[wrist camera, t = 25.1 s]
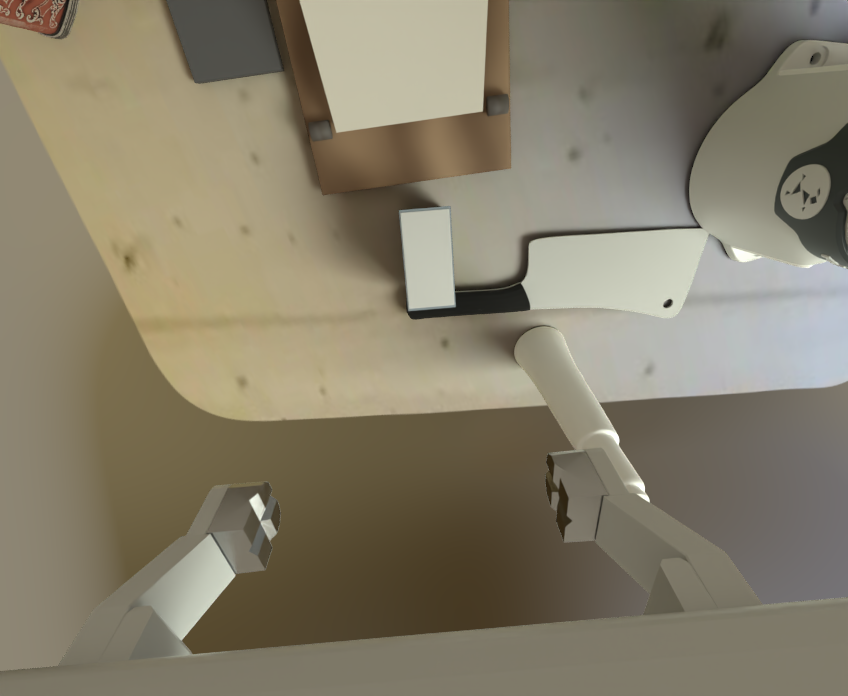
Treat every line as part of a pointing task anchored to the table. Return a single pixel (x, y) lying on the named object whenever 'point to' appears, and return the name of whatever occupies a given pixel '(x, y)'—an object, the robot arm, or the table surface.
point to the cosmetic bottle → (572, 399)
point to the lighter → (40, 16)
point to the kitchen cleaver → (595, 275)
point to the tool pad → (226, 38)
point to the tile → (398, 58)
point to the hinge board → (406, 142)
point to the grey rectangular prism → (428, 258)
